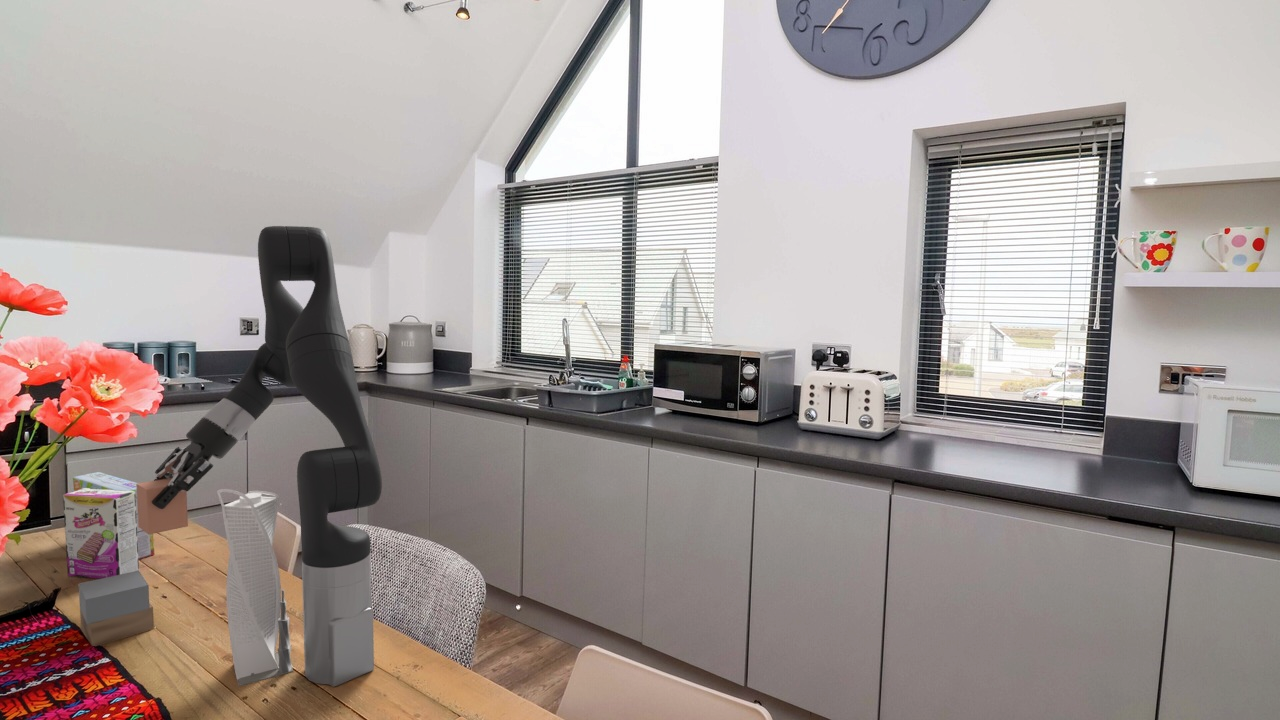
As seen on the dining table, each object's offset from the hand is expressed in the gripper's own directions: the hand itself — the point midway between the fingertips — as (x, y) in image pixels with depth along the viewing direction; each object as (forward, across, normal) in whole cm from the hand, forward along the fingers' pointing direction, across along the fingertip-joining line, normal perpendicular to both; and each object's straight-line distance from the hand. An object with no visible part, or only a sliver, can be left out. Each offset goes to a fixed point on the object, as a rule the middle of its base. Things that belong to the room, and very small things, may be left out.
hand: (150, 502), depth 122 cm
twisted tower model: (+11, +38, +15) cm, 42 cm away
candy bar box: (+15, -19, +10) cm, 26 cm away
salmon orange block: (+2, 0, +5) cm, 5 cm away
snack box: (+11, -33, +14) cm, 38 cm away
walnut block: (+18, +9, +7) cm, 22 cm away
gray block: (+15, +9, +4) cm, 18 cm away
